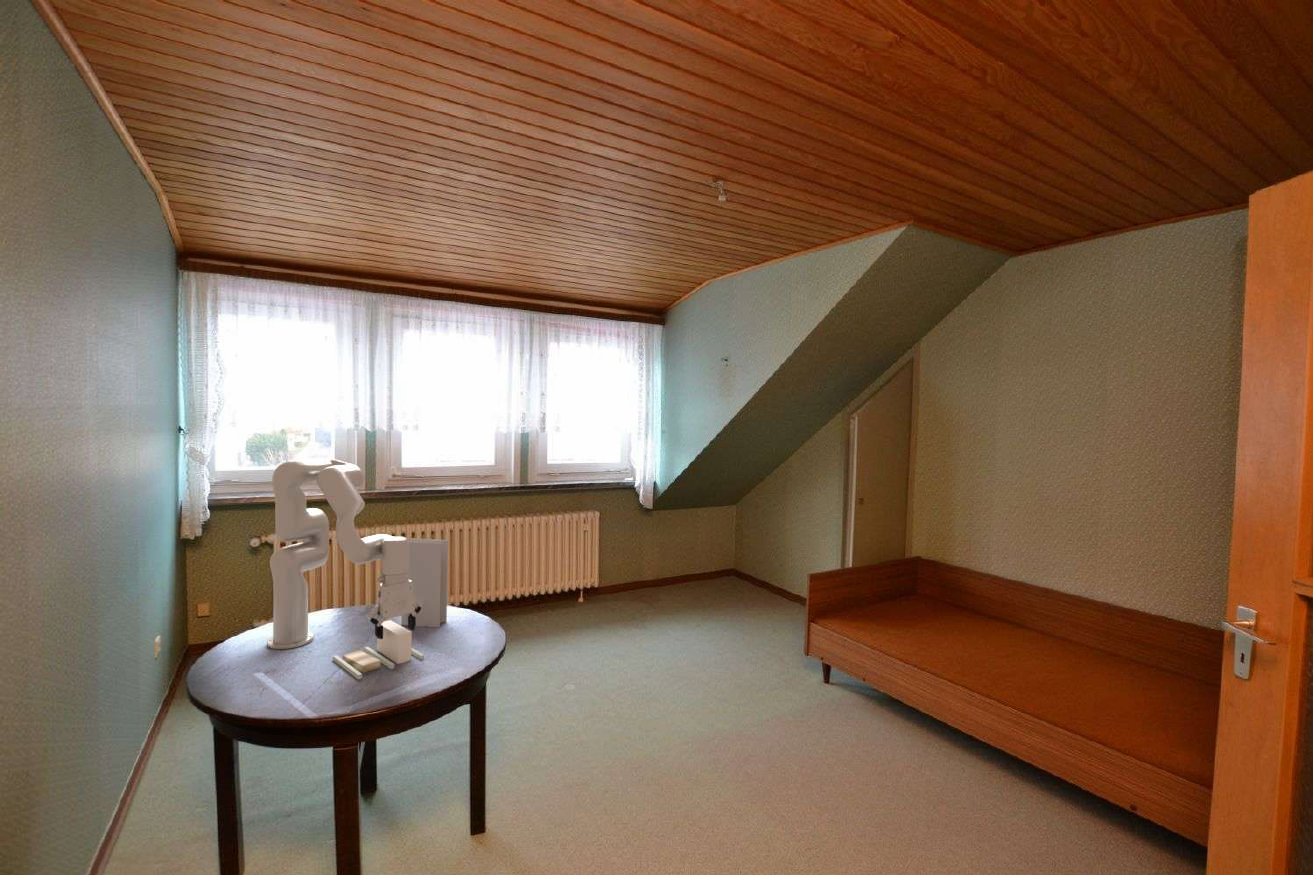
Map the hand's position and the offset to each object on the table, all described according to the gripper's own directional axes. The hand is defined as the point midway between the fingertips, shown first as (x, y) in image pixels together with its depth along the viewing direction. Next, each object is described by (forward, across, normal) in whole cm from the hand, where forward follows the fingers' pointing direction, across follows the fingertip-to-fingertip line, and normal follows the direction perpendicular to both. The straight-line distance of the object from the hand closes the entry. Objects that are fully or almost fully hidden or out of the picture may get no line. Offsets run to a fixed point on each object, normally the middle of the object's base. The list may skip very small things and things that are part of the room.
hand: (395, 633), depth 173 cm
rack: (+8, -5, +1) cm, 9 cm away
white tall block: (+8, +21, +23) cm, 32 cm away
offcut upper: (+7, -10, +1) cm, 12 cm away
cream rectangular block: (+8, 0, +1) cm, 8 cm away
